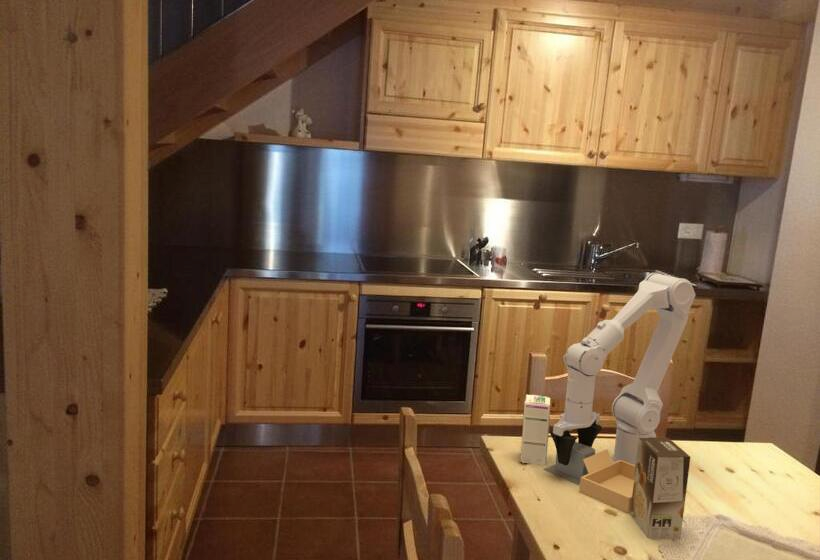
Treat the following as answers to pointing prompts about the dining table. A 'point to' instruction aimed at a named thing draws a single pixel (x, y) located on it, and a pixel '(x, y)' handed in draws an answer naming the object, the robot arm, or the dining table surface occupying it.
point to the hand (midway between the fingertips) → (573, 459)
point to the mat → (562, 474)
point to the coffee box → (659, 488)
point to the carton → (608, 481)
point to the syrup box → (535, 429)
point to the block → (576, 461)
